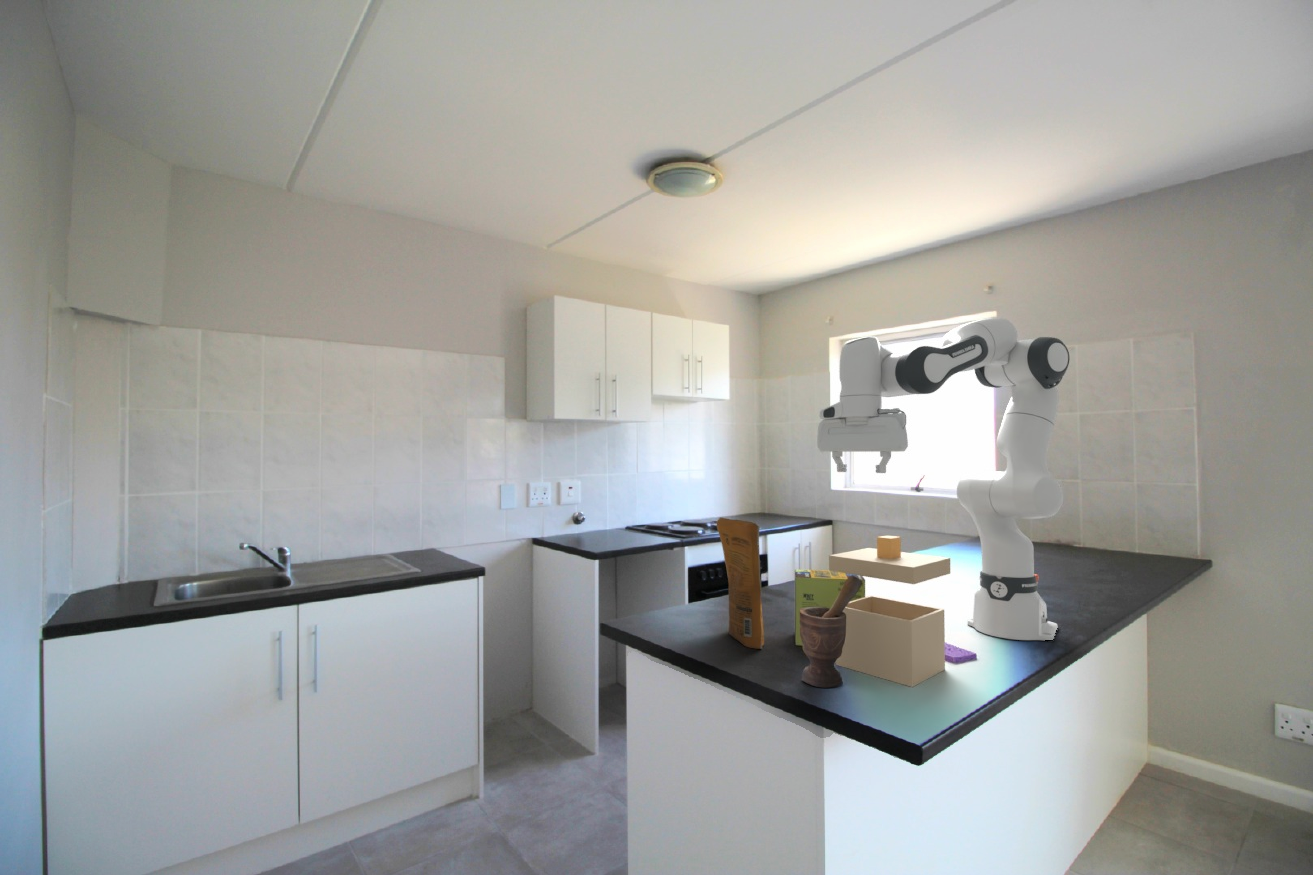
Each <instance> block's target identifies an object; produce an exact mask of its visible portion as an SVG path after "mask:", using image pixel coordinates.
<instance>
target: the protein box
mask: <svg viewBox="0 0 1313 875" xmlns="http://www.w3.org/2000/svg"><path fill="white" fill-rule="evenodd" d="M851 575H853V574H847V573H841V572H835V571H829V569H828V570H825V569H794V643H795V646H801V647H803V644H802V640H801V637H800V609H801V608H806V607H827V608H831V607H832V606H833V604H834V602H835V600H836V599H837V597H838V595H839V593H840V591H841V588H842V586H843V585H844V583H845V581H846V580H847V578H848V577H850V576H851ZM853 576H855V577H857V578H859V579H860V580H861V581H862V585H861V587H860V589H859V591H858V592H857V593H856V595H855V596H854V597H853V598H852V599H851V600H850V601H854V600H857V599H861V598H864V597H866V579H865V578H864V576H859V575H853Z"/></svg>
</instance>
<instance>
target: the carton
mask: <svg viewBox="0 0 1313 875" xmlns="http://www.w3.org/2000/svg"><path fill="white" fill-rule="evenodd" d="M842 612H844V613H845V614H846V637H845V643H844V645H843V648H842V654H841V656H840V657H839V658H838V659H837V660H836V661H835V666H839V667H842V668H846V669H849V670H853V671H856V672H859V673H862V674H866V675H870V676H873V677H876V678H880V679H883V680H887V681H889V682H893V683H898V684H901V685H904V686H908V687H910V688H913V687H915V686H917V685H919V684H921V683H923V682H925V681H926V680H928V679H929V678H932V677H934V676H935V675H937V674H939V673H942V672H943V671H945V670H946V660H945V642H946V641H945V637H946V636H945V633H946V631H945V608H940V607H933V606H930V605H929V606H928V605H924V604H917V603H913V602H912V603H911V602H907V601H903V600H902V601H901V600H896V599H891V598H885V597H881V596H874V595H868V596H865V597H864V598H861V599H857V600H854V601H850V602H849V603H848V604H847V606H846V607H845V608H844V610H843V611H842Z"/></svg>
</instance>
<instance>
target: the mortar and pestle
mask: <svg viewBox="0 0 1313 875" xmlns="http://www.w3.org/2000/svg"><path fill="white" fill-rule="evenodd" d="M861 585H862V581H861V580H860V579H859V578H857V577H855V576H853V575H851V576H850V577H848V578H847V580H846V581H845V583H844V585H843V586H842V588H841V591H840V593H839V595H838V597H837V599H836V600H835V602H834V604H833V606H832V607H831V608H827V607H806V608H801V609H800V637H801V640H802V644H803V646H801V647H802V650H803V653H804V655H806V657H807V658H808V660H809V663H810V664H809V665H808V666H805V668H804V669H803V671H802V673H801V681H803V682H804V683H806V684H808V685H811V686H814V687H817V688H836V687H838V686H840V685H841V684H843V678H842V676H841V673H840V671H839V670H837V668H836V667H835V663H836V660H837V659H838V658H839V657H840V656H841V654H842V648H843V645H844V643H845V637H846V614H845V613H844V612H842V611H843V610H844V608H845V607H846V606H847V604H848V603H849V602H850V600H851V599H852V598H853V597H854V596H855V595H856V593H857V592H858V591H859V589H860V587H861Z"/></svg>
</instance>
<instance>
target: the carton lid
mask: <svg viewBox="0 0 1313 875" xmlns="http://www.w3.org/2000/svg"><path fill="white" fill-rule="evenodd" d="M901 540H902V538H901V536H896V535H882V536H877V537H876V548H874V547H873V548H872V547H866V548H861V549H856V550H851V551H844V552H838V553H834V554H830V555H829V556H828V570H829V571H835V572H841V573H847V574H853V575H859V576H863V577H867V578H873V579H879V580H884V581H891V582H896V583H897V582H898V583H903V584H910V585H917V584H920V583H923V582H927V581H930V580H933V579H937V578H940V577H943V576H947V575H950V574H951V557H945V556H938V555H930V554H920V553H914V552H913V553H912V552H904V551H902V548H901V544H902V543H901V542H902V541H901Z"/></svg>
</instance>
